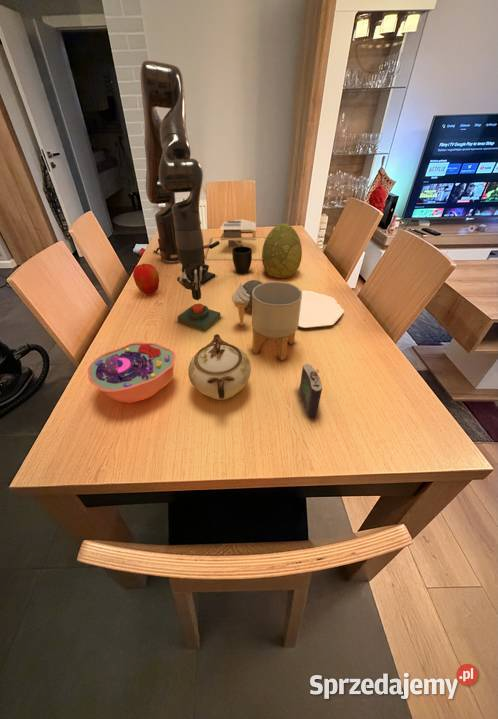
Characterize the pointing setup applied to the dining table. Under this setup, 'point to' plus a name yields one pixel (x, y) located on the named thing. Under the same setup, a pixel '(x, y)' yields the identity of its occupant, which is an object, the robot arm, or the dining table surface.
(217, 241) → the lever
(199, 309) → the button
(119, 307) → the dining table surface
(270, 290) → the planter
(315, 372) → the flask
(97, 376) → the cell model
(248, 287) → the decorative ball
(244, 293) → the ice cream cone
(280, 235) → the decorative sculpture
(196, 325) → the button housing
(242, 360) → the sugar bowl
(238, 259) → the mug
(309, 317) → the plate
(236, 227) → the house model
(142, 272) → the red mango
